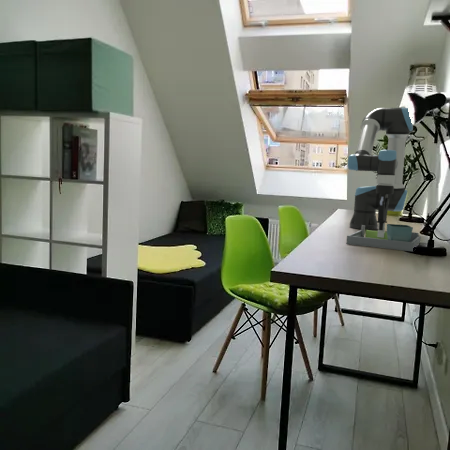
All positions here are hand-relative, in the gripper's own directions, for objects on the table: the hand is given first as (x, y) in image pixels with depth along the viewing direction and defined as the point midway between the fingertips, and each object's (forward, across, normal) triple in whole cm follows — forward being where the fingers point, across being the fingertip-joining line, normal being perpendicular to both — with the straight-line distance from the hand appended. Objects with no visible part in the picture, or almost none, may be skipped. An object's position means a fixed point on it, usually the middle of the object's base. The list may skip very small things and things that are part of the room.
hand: (380, 237), depth 215 cm
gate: (+1, -2, -1) cm, 2 cm away
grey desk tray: (+2, +8, +2) cm, 9 cm away
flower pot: (+2, +11, +9) cm, 14 cm away
